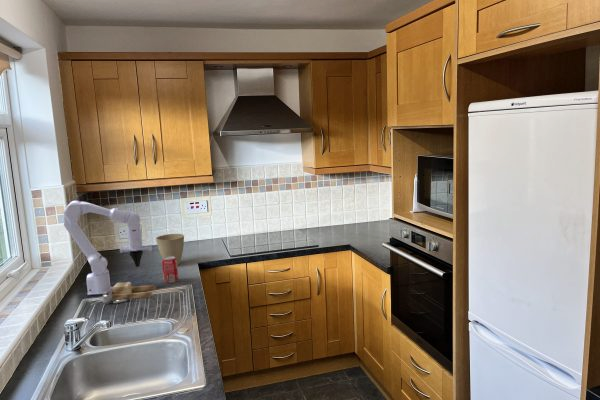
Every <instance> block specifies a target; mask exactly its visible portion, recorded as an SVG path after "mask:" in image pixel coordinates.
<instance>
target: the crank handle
mask: <svg viewBox="0 0 600 400" xmlns="http://www.w3.org/2000/svg"><path fill="white" fill-rule="evenodd" d="M124 302H125V303H126V302H127V303H128V302H131V298H130V297H129V295H127V296H126V299H115V300H113V305H115V304H120V303H124Z"/></svg>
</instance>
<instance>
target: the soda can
mask: <svg viewBox="0 0 600 400" xmlns="http://www.w3.org/2000/svg"><path fill="white" fill-rule="evenodd" d="M161 263H162V264H161V267H162V279H163V283H167V284H173V283H176V282H177V281H178V280H179V269H178V267H179V266H178V265H177V260H176V259H175V257H174V256H168V257H164V258H163V259H162V262H161Z"/></svg>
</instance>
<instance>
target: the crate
mask: <svg viewBox="0 0 600 400" xmlns="http://www.w3.org/2000/svg"><path fill="white" fill-rule="evenodd" d="M112 287H113V291H114V294H128V293H133V292H132V290H131V287H132V282H131V281H123V282H122V281H121V282H116V283H115V284H114V286H112Z"/></svg>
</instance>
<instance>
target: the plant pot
mask: <svg viewBox="0 0 600 400" xmlns="http://www.w3.org/2000/svg"><path fill="white" fill-rule="evenodd" d="M155 240H156V245H157V248H158V251H159V253H160V256H161V259H162V260H163V258H164V257H168V256H174V257H175V259H176V260H177V266H179V265H180V263H181V260H182V256H183V250H184V247H185V246H184V244H185V234H183V233H168V234H163V235H158V236H156V238H155Z"/></svg>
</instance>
